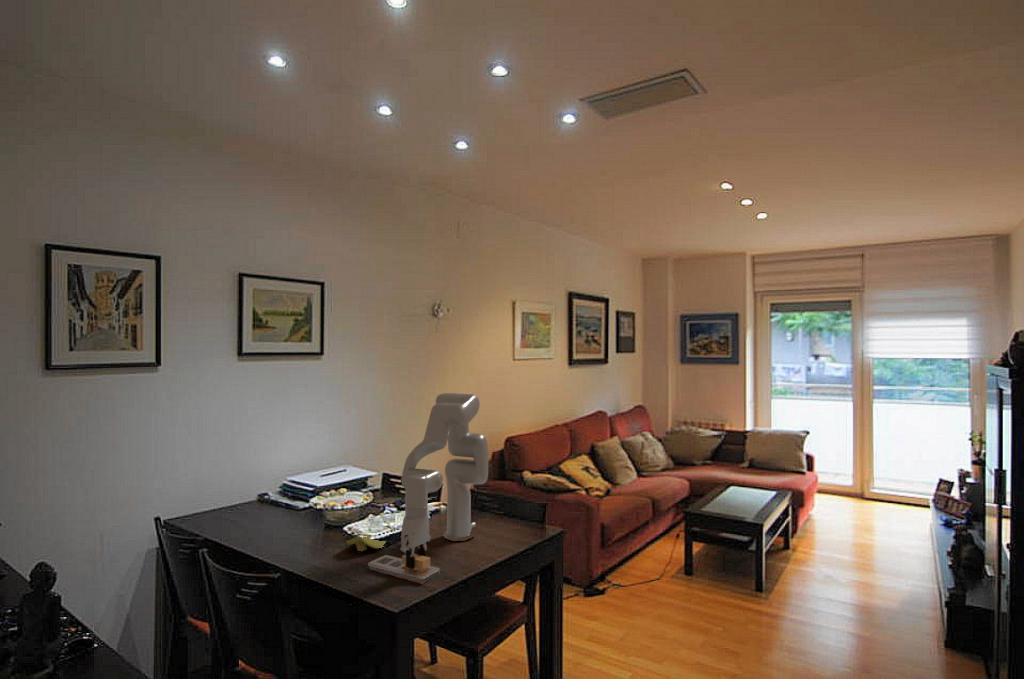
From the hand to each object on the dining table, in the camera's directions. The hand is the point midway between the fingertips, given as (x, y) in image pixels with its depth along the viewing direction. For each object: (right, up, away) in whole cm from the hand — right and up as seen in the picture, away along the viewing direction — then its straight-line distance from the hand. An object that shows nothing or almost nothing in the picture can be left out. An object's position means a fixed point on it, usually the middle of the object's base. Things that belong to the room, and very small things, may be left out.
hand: (415, 564), depth 204 cm
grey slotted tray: (-5, -4, +3) cm, 7 cm away
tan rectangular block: (0, -4, 0) cm, 4 cm away
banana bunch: (-22, -4, +28) cm, 36 cm away
